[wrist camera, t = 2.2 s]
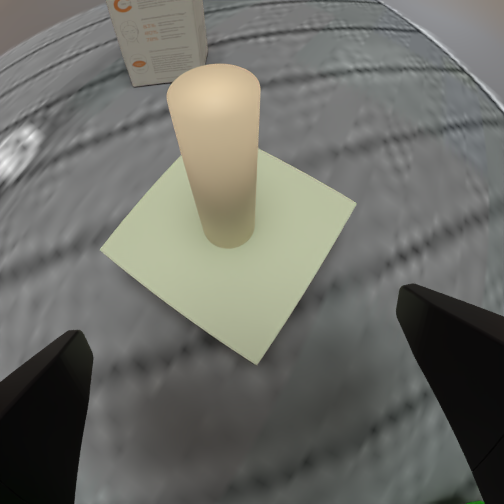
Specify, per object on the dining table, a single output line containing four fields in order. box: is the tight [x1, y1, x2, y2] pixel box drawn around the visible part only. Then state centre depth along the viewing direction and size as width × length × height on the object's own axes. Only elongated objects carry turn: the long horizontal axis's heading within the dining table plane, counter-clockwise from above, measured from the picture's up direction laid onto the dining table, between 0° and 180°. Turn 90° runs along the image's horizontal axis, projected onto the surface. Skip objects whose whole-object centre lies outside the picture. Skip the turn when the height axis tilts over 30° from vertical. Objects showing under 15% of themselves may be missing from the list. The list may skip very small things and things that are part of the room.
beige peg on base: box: [100, 64, 357, 365], centre depth 14 cm, size 11×11×11 cm
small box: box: [106, 0, 208, 87], centre depth 25 cm, size 8×6×13 cm
